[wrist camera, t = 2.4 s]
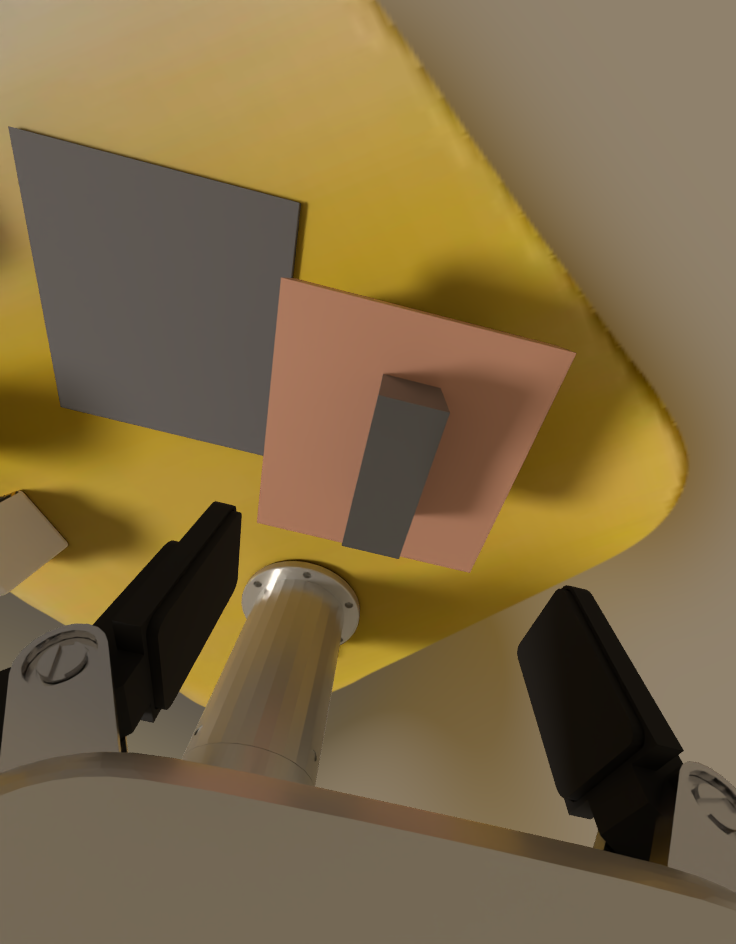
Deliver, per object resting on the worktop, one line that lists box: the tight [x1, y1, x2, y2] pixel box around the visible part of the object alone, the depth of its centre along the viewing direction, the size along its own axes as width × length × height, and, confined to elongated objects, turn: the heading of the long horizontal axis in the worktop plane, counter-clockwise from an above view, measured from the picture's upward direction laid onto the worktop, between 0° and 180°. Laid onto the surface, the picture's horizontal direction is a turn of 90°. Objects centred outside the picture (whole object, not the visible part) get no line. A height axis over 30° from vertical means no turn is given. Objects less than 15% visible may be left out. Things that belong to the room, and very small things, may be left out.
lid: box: [257, 277, 576, 573], centre depth 19 cm, size 14×14×6 cm
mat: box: [8, 126, 301, 456], centre depth 26 cm, size 18×18×1 cm
